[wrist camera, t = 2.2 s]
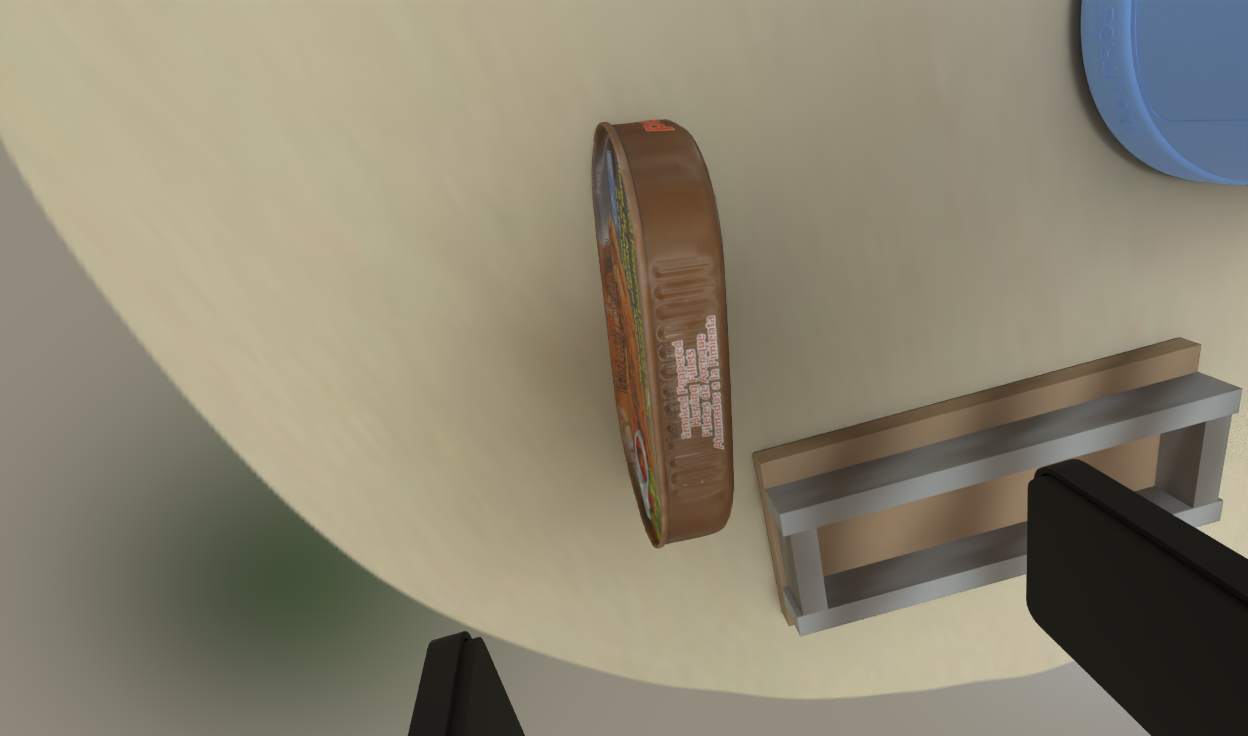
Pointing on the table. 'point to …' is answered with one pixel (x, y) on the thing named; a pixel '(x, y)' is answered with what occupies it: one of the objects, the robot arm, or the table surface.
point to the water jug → (1173, 82)
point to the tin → (666, 324)
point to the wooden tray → (981, 480)
